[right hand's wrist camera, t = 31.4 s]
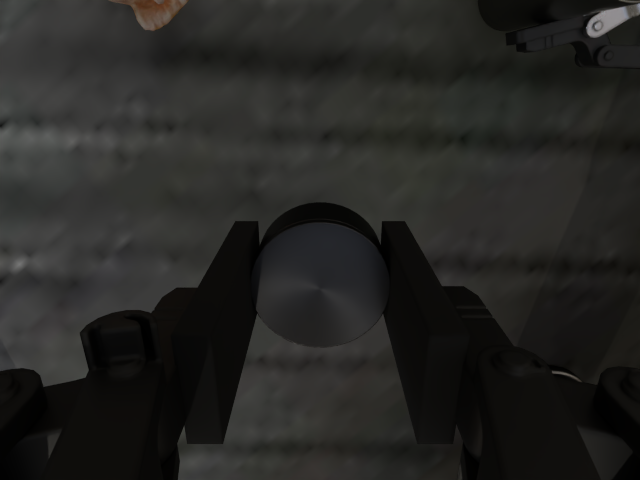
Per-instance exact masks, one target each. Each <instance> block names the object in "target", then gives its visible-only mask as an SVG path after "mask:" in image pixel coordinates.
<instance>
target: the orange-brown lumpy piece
mask: <svg viewBox="0 0 640 480" xmlns="http://www.w3.org/2000/svg"><path fill="white" fill-rule="evenodd" d="M109 1H112V2H116V3H122V4H127V5H130V6H131V7H132V8H133V10H134V13H135V15H136V18H137V21H138V22H139V24H140V25H141V26H142V27H143V28H144V29H145V30H152V31H154V30H157V29H160V28H161V27H163V26H164V25H166V24H168V23H169V22H170V20H171V19H172V18H173V17H174V16H175V15H176V14H177V13H178V12H179V11H180V9H181V8H182V7H183V6H184V5H185V4H186V3H187V2H188V1H189V0H109Z"/></svg>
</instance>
